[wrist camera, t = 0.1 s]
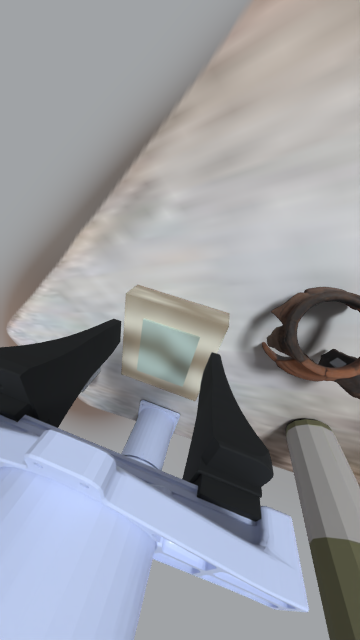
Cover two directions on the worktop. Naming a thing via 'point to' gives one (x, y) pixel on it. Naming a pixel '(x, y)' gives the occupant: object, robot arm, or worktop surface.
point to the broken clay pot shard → (333, 365)
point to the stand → (169, 340)
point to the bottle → (329, 522)
